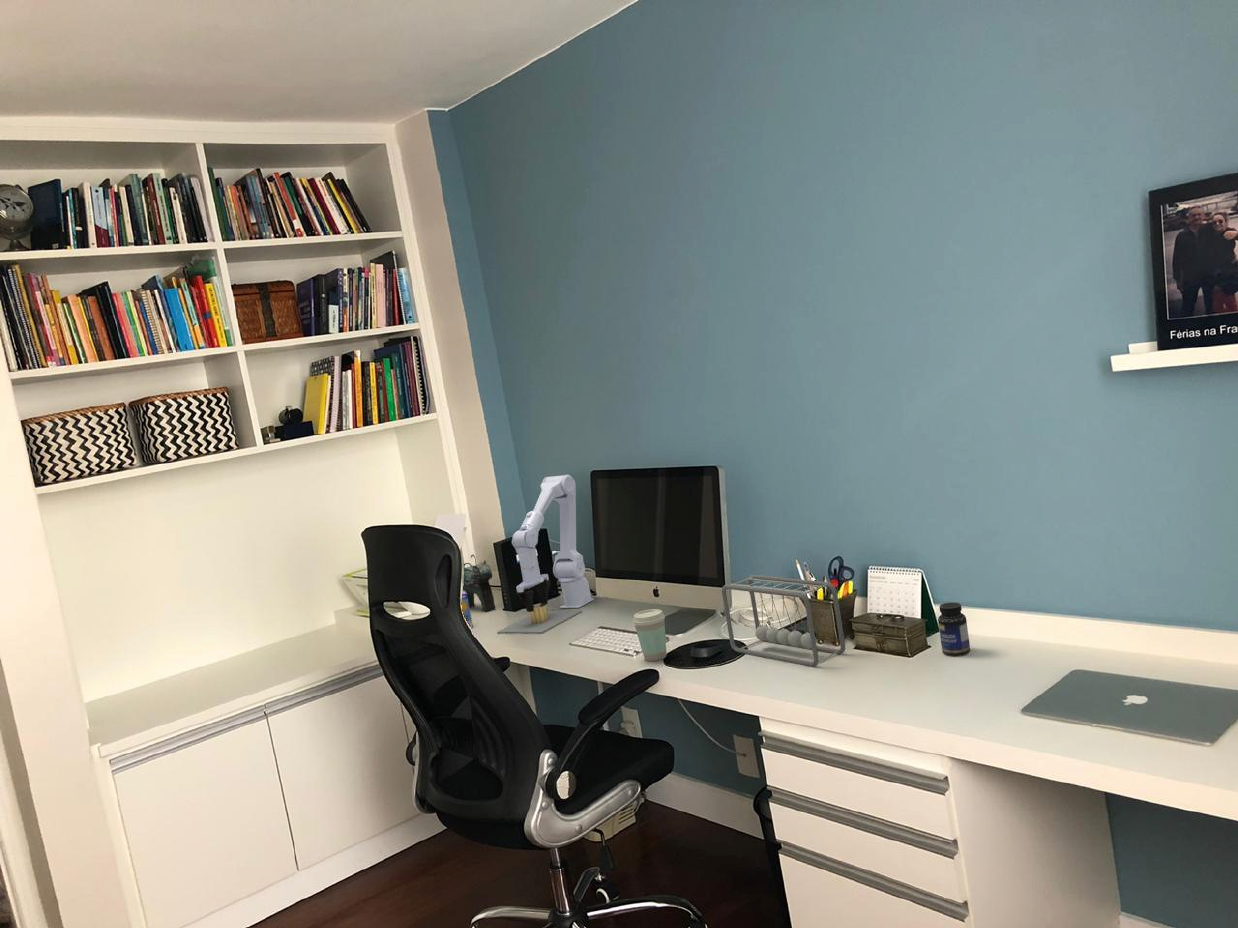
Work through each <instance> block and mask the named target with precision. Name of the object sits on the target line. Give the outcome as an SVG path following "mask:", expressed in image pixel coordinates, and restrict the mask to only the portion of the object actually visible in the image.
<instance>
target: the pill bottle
mask: <svg viewBox="0 0 1238 928" xmlns="http://www.w3.org/2000/svg"><path fill="white" fill-rule="evenodd" d="M962 610H963V608H962V604H961V603H960V602H954V601H953V602H945V603H942V604H940V605H939V612H940V613H941V614H940V615H938V618H937V622H938V623H937V624H938V631H939V638H940V644H941V652H942V654H943V655H944V656H949V657H960V656H964V655H967V654H969V653H970V652H971V645H970V636H969V628H968V623H967V622H968V621H967V616H966V614H964V613H962Z"/></svg>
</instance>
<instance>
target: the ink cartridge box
mask: <svg viewBox="0 0 1238 928" xmlns="http://www.w3.org/2000/svg"><path fill="white" fill-rule="evenodd" d="M461 605H462V612H463V615H464V618H465V619H466V621H467V623H468V624H469V626H470V627H471V629H474V624H473V620H472V614H471V610H470V609H471V607H470V608H469V602H468V596H467V593H466V591H463V592H462V602H461Z"/></svg>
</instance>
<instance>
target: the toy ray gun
mask: <svg viewBox="0 0 1238 928" xmlns="http://www.w3.org/2000/svg"><path fill="white" fill-rule="evenodd" d="M472 557H473V558H474V560H475V561H474V562H475V563H476V564H474V565H472V563H469V562H465V563H464V564H463V565H464V586H463V591H466V593H467V596H468V602H469V608H470V609H471V608H473V607H472V606H474V607H475V595H476V596H477V598H478V599H479V602H480V603H481V609H482V612H486V613H489V612H492V611H495V610H496V604H495V598H494V597H495V596H494V594H493V590H492V587H491V584H490V580H491V579H492V578H493V572H492V568H491V566H490V565H489V564H488V563H487V561H486V560H483V562H482V561H481V560H480V561H479V563H478V564H477V558H476V556H475V555H474V554H471V555H470V559H472ZM466 565H469V566H466ZM465 566H466V567H465Z"/></svg>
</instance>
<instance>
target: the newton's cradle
mask: <svg viewBox="0 0 1238 928" xmlns="http://www.w3.org/2000/svg"><path fill="white" fill-rule="evenodd" d="M746 581H747V583H748V585H745V584H741V583H743V582H746ZM753 581H757V582H754V583H753ZM763 582H765V583H766V584H763ZM757 583H760V586H754V584H757ZM773 583H775V584H777V585H774V586H773ZM769 584H771V587H764V586H766V585H769ZM784 584H785V585H788V586H786V587H784V586H782V588H779V589H778V588H775V587H776V586H780V585H784ZM792 586H793V590H788V589H786V588H789V587H792ZM796 586H801V587H799V588H795V587H796ZM803 587H813V588H814V589H811V590H808V591H798V590H799V589H801V588H803ZM823 588H829V589H830V591H831V595H832V600H833V607H834V614H835V620H836V626H837V633H838V638H839V645H840V646H839V647H840V648H839V649H837V648H831V647H826V646H819V645H817V637H816V635H815V628H814V621H813V616H812V609H811V603H810V600H809V598H808V597H807V594H810V593H813V592H815V591H817V590H820V589H823ZM727 590H733V591H741V592H748V593H749V596H750V601H751V602H750V603H751V607H752V615H753V621H754V625H755V631H754V632H755V634H754V635H755V637H756V638H757V639H758V640H757V641H755V642H752V643H750V644H747V645H745V646H742V647H738V646H737V645H736V643H735V637H734V632H733V624H732V617H731V614H730V609H729V601H728V595H727ZM755 593H756V594H757V593H759V595H760V598H761V603H762V606H763V607H764V608H763V609H764V611H765V613H766V616H767V620H768V623H769V626H770V627H768V626H766V625H764V623H763V622H764V620H763V619H764V618H763V615H764V614H763V611H761V623H760V619H759V613H758V607H757V601H756V596H755ZM763 594H767V595H770V597H771V600H772V601H771V604H772V606H771V607H772V612H774V609H775V613H776V616H777V618H778V621H779V625H780V628H781V629H779V628H777V627H774V626H772V625H771V622H770V619H769V616H768V613H767V610H766V607H765V604H764V600H763ZM774 595H775V596H782V597H781V598H782V604H783V605H782V606H783V607H782V608H783V611H782V612H783V615H785V610H786V613H787V616H788V619H789V620H788V621H789V624H790V626H791V628H792V629H791V630H792V631H790V630H788V629H787V628H785V627H783V626H782V623H781V621H780V618H779V615H778V612H777V609H776V608H777V607H776V605H775V603H774ZM784 597H792V598H793V601H794V604H793V605H794V606H795V607H796V608H797V612H798V615H799V618H800V621H801V624H802V626H803V631H804V632H805V633H802V632H801V631H798V630H797V629H796V628H797V627H796V626H797V625H796V624H797V623H796V619H794V628H793V626H792V625H793V624H792V622H791V619H790V616H789V612H788V608H787V607H786V606H787V605H786V604H785V598H784ZM721 598H722V601H723V607H724V609H723V610H724V615H725V620H726V625H727V632H728V637H729V643H730V646H731V648H732V649H733V651H734V652H736V653H739V654H746V655H750V656H754V657H761V658H766V659H769V660H776V661H782V662H784V663H785V662H786V663H791V664H796V665H800V666H806V667H813V668H814V667H815V666H817V665H818V664H819V662H822V661H824V660H825V659H828V658H830V657H833V656H835V655H842V654H844V653H845V651H846V643H845V642H846V640H845V634H844V630H843V623H842V615H841V609H840V602H839V598H838V591H837V589H836V587H835V585H834V584H833V583H831V582H829V581H819V580H818V581H817V580H811V579H810V580H809V579H802V578H791V577H790V578H789V577H779V576H769V575H761V574H751V575H750V576H749V577H748V578H745V579H743V580H740V581H736V582H734V583H731V584H724V585H723V586H722V588H721ZM796 598H798V599H799V598H800V599H802V601H803V602H804V607H805V611H806V612H805V614H806V622H807V623H806V625H807V630H808V631H806V628H805V625H804V621H803V620H802V619H803V618H802V616H801V614H800V611H799V608H798V605H797V602H796ZM761 642H767V643H773V644H777V645H783V646H789V647H794V648H795V647H796V648H801V649H806V650H812V656H813V661H810V660H805V659H800V658H799V659H798V658H793V657H788V656H785V655H778V654H772V653H768V652H763V651H758V650H751V649H746V648H749V647H751V646H753V645H756V644H759V643H761ZM818 652H823V653H829V655H826V656H824V657H822V658H819V653H818Z"/></svg>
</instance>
